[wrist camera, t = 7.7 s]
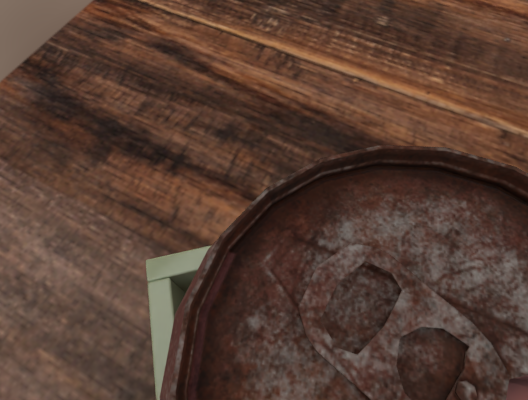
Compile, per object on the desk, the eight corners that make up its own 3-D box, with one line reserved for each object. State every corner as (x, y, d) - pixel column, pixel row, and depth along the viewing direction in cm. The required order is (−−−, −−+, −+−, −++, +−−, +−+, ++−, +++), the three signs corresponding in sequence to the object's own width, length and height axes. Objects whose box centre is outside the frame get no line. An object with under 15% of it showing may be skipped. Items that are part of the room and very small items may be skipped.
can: (400, 489, 14) (1270, 1128, 2) (237, 469, 14) (15, 861, 2) (388, 325, 17) (683, 132, 5) (253, 313, 17) (196, 109, 5)
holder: (494, 506, 14) (627, 586, 8) (220, 582, 13) (178, 720, 8) (390, 248, 19) (434, 194, 13) (186, 295, 18) (144, 259, 13)
